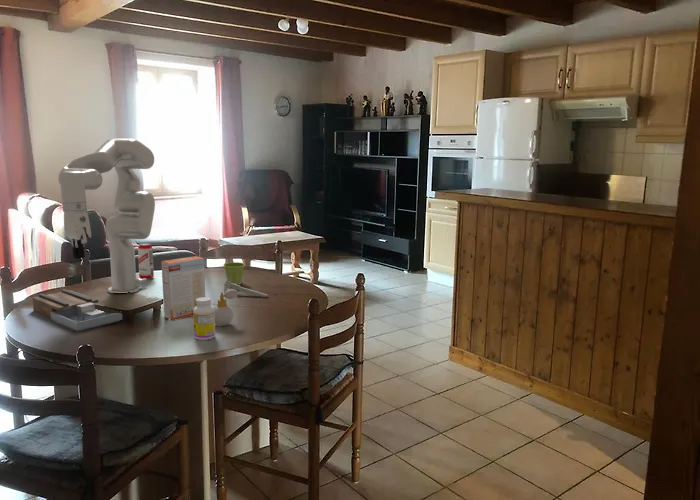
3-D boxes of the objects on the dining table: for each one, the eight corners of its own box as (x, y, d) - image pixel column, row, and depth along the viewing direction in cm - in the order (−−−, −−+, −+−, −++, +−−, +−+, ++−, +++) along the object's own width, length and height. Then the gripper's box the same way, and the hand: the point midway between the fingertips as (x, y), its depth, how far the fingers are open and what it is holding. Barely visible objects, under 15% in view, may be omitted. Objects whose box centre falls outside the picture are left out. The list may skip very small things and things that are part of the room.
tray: (95, 310, 205) (95, 302, 205) (122, 320, 195) (122, 312, 194) (51, 320, 193) (50, 312, 192) (77, 331, 182) (76, 323, 182)
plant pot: (242, 286, 245) (242, 267, 243) (221, 285, 245) (221, 266, 243) (247, 281, 254) (246, 262, 252) (226, 280, 254) (226, 262, 252)
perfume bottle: (207, 327, 190) (206, 293, 188) (221, 318, 199) (220, 286, 197) (227, 329, 188) (226, 295, 186) (240, 320, 197) (239, 288, 195)
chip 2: (105, 311, 193) (105, 320, 193) (96, 309, 195) (97, 317, 196) (92, 315, 188) (92, 323, 189) (83, 312, 191) (84, 320, 192)
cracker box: (198, 309, 209) (196, 255, 205) (206, 313, 205) (205, 257, 201) (163, 317, 199) (160, 260, 196) (171, 321, 195) (168, 262, 191)
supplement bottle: (196, 333, 183) (194, 296, 181) (216, 333, 184) (215, 296, 181) (192, 341, 176) (190, 301, 174) (213, 340, 177) (212, 301, 175)
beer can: (149, 280, 251) (147, 245, 248) (136, 279, 252) (134, 244, 249) (156, 277, 257) (155, 243, 254) (144, 276, 258) (142, 242, 255)
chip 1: (90, 302, 196) (95, 303, 195) (91, 316, 197) (96, 317, 196) (76, 305, 192) (81, 307, 191) (77, 319, 193) (82, 321, 191)
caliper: (223, 294, 232) (223, 279, 231) (225, 293, 233) (224, 279, 232) (269, 298, 227) (269, 283, 226) (270, 298, 228) (270, 283, 227)
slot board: (71, 302, 214) (70, 288, 213) (98, 313, 202) (97, 297, 201) (33, 310, 203) (32, 295, 202) (59, 322, 191) (58, 305, 190)
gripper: (96, 207, 192) (100, 259, 197) (74, 203, 201) (78, 252, 205) (75, 210, 187) (79, 263, 191) (53, 205, 195) (58, 256, 199)
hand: (79, 257), depth 198 cm, fingers closed
